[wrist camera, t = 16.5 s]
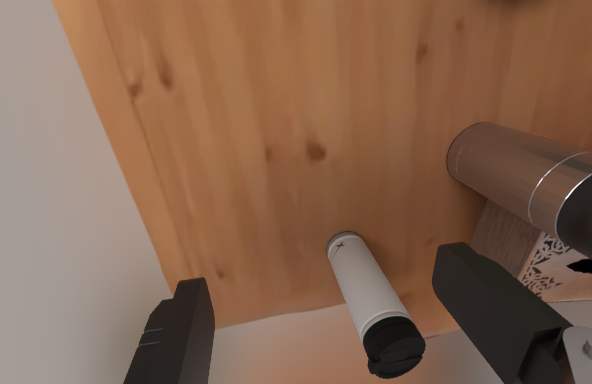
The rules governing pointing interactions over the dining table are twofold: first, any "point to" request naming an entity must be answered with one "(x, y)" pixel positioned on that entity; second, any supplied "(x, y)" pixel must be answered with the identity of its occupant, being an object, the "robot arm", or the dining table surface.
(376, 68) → the dining table surface
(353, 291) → the travel mug
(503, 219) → the tissue box cover
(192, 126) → the dining table surface
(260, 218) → the dining table surface
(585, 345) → the robot arm
